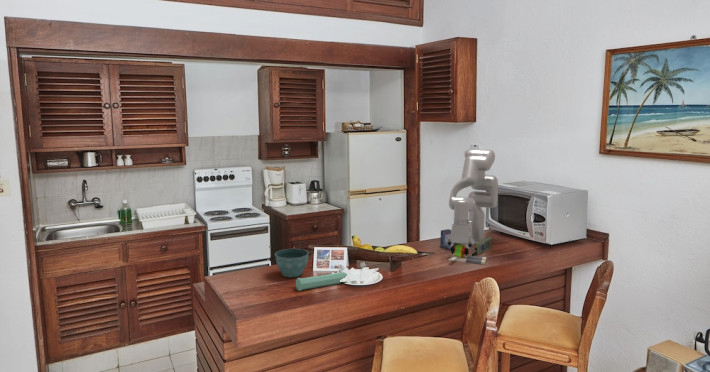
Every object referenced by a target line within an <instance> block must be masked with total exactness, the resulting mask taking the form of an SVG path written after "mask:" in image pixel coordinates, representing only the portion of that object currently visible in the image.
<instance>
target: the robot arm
mask: <svg viewBox="0 0 710 372" xmlns="http://www.w3.org/2000/svg"><path fill="white" fill-rule="evenodd" d="M464 158H465V159H464V163H463V169H462V175H461V179H460V180H459V181H458V182H457V183H456V184H455V185H454V186H453V187H452V189H451V191H450V195H449V200H448V206H449V208H450V209H451V210H453V223H452V225H451V229H450V230H451V235H450V236H449V237H447V238H446V239H445V240H446V242H447V243H448V244H449V245H450V247H451V251H450V253H451V255H453V254H454V246H453V244H454V243H460V244H463V245H465V248H466V254H465V255H466V256H467V255H469V253H470V252H469V251H470V248H471V247H472V246H473V245H475V243H477V242H479V241H481V240H483V239H485V237H484V236H485V219H486V218H485V217H486V215H485V212H484V209H482V208H487V209H494V208H496V207H497V205H498V203H499V202H498V201H499V200H498V199H499V198H498V197H499V196H498V195H499V183H498V182H499V181H498V177H497V176H495V175H493V174H492V175H490V174H486V172H487V171H489V170H491V168H492V166H493V164H494V163H495V160H496V153H495V152H494V150H491V149H480V148H477V149H476V148H469V149H466V150H465V151H464ZM469 187H470V188H471V189H472V190H476V191H471V192H470V193H469V194H468V197H466V196H465V197H464V196H457V194H458V193H459V192H460V191H462V190H464V189H466V188H469ZM449 239H450V240H451V242H452V243H451V242H450V241H449Z"/></svg>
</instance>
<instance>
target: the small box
mask: <svg viewBox="0 0 710 372" xmlns="http://www.w3.org/2000/svg"><path fill="white" fill-rule="evenodd" d="M450 235H451V229H450V228H448V229H447V228H446V229H443V230H440V240H439V241H440V245H439V247H440V248H442V249H444V250H448V251H450V252H451V247H450V245H449V244H448V243H447V242H446V240H445V239H446V238H447V237H449V236H450ZM449 241H450V242H451V240H450V239H449ZM451 243H452V242H451ZM457 244H461V243H454V244H453V246H454V247H455V246H456V245H457Z"/></svg>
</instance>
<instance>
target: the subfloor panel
mask: <svg viewBox="0 0 710 372" xmlns="http://www.w3.org/2000/svg"><path fill="white" fill-rule="evenodd" d="M453 257H454V253H453V254H451V257H450V259H452V258H453ZM452 262H457V263H464V264H465V263H466V264H477V265H486V262H487V256H479V255H477V256H476V255H474V256H472V255H469V254H467V256H466V255H464V256H463V257H461V258H456V259H455V260H453V261H452Z"/></svg>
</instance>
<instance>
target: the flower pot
mask: <svg viewBox="0 0 710 372" xmlns="http://www.w3.org/2000/svg"><path fill="white" fill-rule="evenodd" d="M274 256H275V261H276V265H277V267H278V269H279V271H280V272H281V275H282V277H285V278H299V277H300V276H301V275H302V274H303V271H304V270H305V268H306V266H308V265H307V264H308V259H309V251H308V250H305V249H303V248H302V249H300V248H286V249H281V250H278V251H276V252H275V253H274Z"/></svg>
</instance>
